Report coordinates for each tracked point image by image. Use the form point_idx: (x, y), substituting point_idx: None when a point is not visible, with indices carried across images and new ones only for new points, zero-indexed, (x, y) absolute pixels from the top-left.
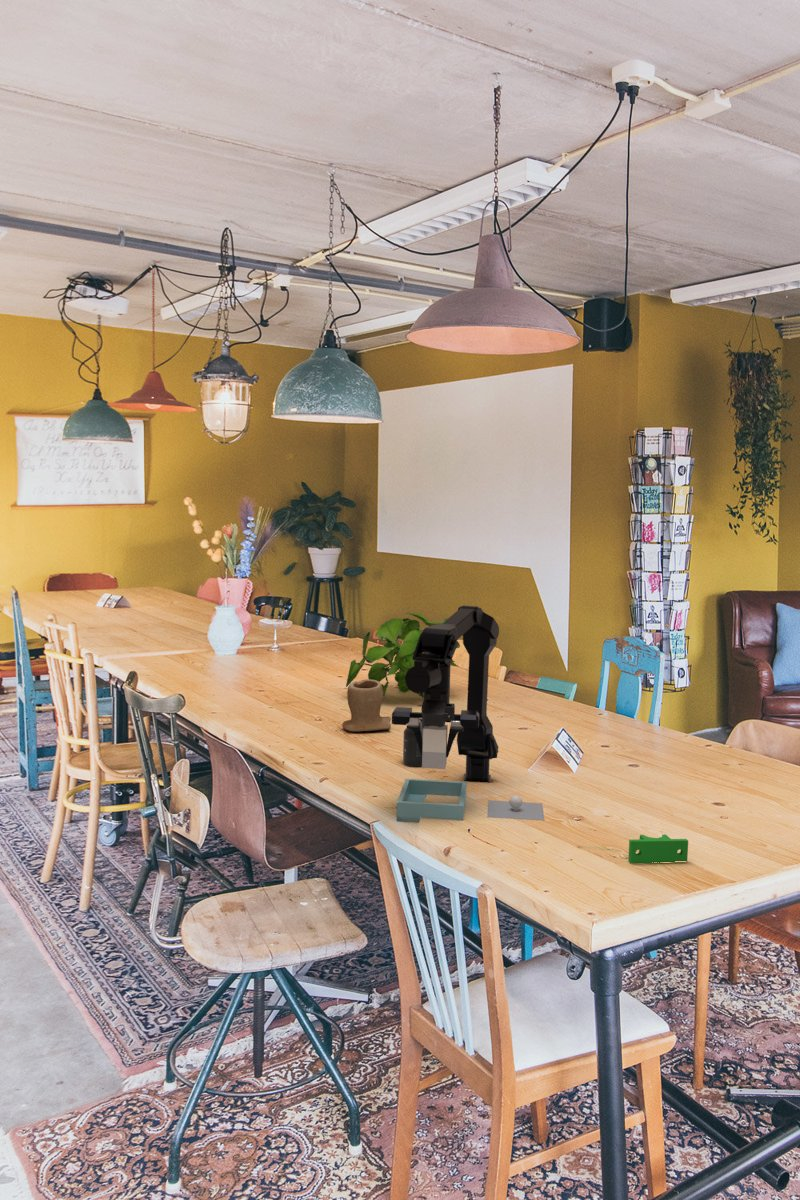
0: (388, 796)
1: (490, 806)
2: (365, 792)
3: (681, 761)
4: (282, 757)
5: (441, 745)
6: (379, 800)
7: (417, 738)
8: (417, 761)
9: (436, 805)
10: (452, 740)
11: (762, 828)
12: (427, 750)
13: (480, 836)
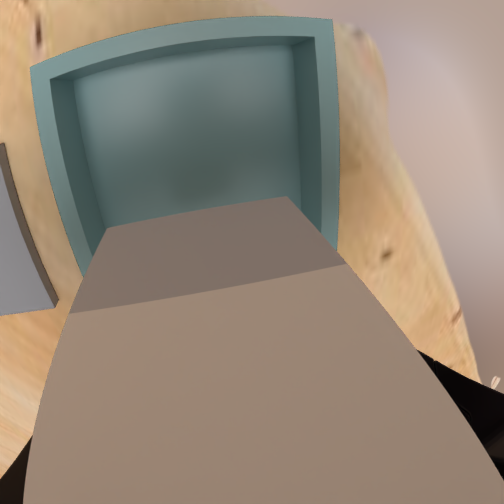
0: (354, 267)
1: (23, 255)
2: (404, 274)
3: (3, 474)
4: (475, 362)
5: (99, 379)
6: (376, 225)
7: (459, 386)
8: None
9: (145, 29)
10: (19, 463)
11: None
12: (295, 284)
13: (7, 6)
